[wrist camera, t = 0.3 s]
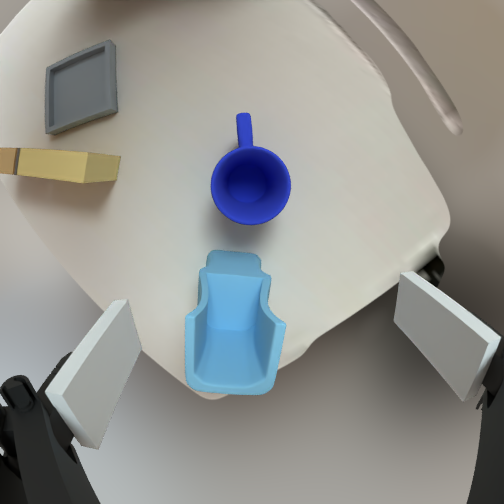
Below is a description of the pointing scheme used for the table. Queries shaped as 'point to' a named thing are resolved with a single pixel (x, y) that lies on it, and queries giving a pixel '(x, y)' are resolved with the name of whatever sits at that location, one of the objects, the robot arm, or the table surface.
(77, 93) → the tray
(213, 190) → the mug
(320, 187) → the table surface
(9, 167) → the stub
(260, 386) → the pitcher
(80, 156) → the grey-ended yellow block
